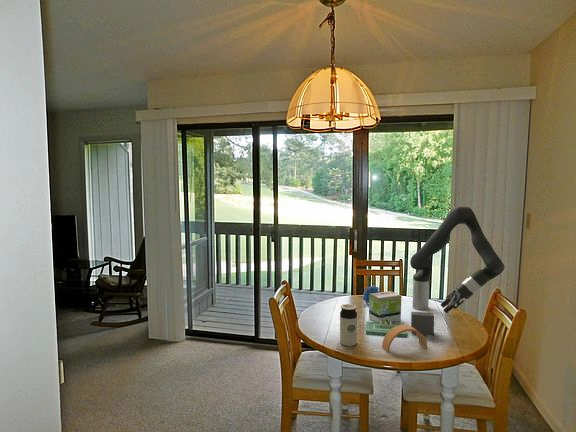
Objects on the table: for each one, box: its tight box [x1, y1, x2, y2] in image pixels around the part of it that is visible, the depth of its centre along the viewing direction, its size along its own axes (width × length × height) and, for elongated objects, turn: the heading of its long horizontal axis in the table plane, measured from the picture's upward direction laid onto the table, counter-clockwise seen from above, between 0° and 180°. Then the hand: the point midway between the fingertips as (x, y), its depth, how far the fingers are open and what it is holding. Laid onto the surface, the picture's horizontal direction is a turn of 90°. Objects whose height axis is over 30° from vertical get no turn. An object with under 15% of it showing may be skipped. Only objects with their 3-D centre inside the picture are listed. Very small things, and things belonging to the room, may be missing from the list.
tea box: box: [368, 290, 402, 323], centre depth 213 cm, size 15×10×15 cm
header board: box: [365, 321, 408, 338], centre depth 198 cm, size 14×20×4 cm
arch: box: [381, 324, 428, 353], centre depth 177 cm, size 6×20×10 cm, turn 101°
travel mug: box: [339, 303, 358, 347], centre depth 182 cm, size 8×8×18 cm
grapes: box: [362, 284, 381, 305], centre depth 243 cm, size 12×7×12 cm, turn 104°
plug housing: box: [410, 311, 435, 337], centre depth 194 cm, size 5×10×10 cm, turn 77°
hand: (443, 308), depth 191 cm, fingers open, 8 cm apart
